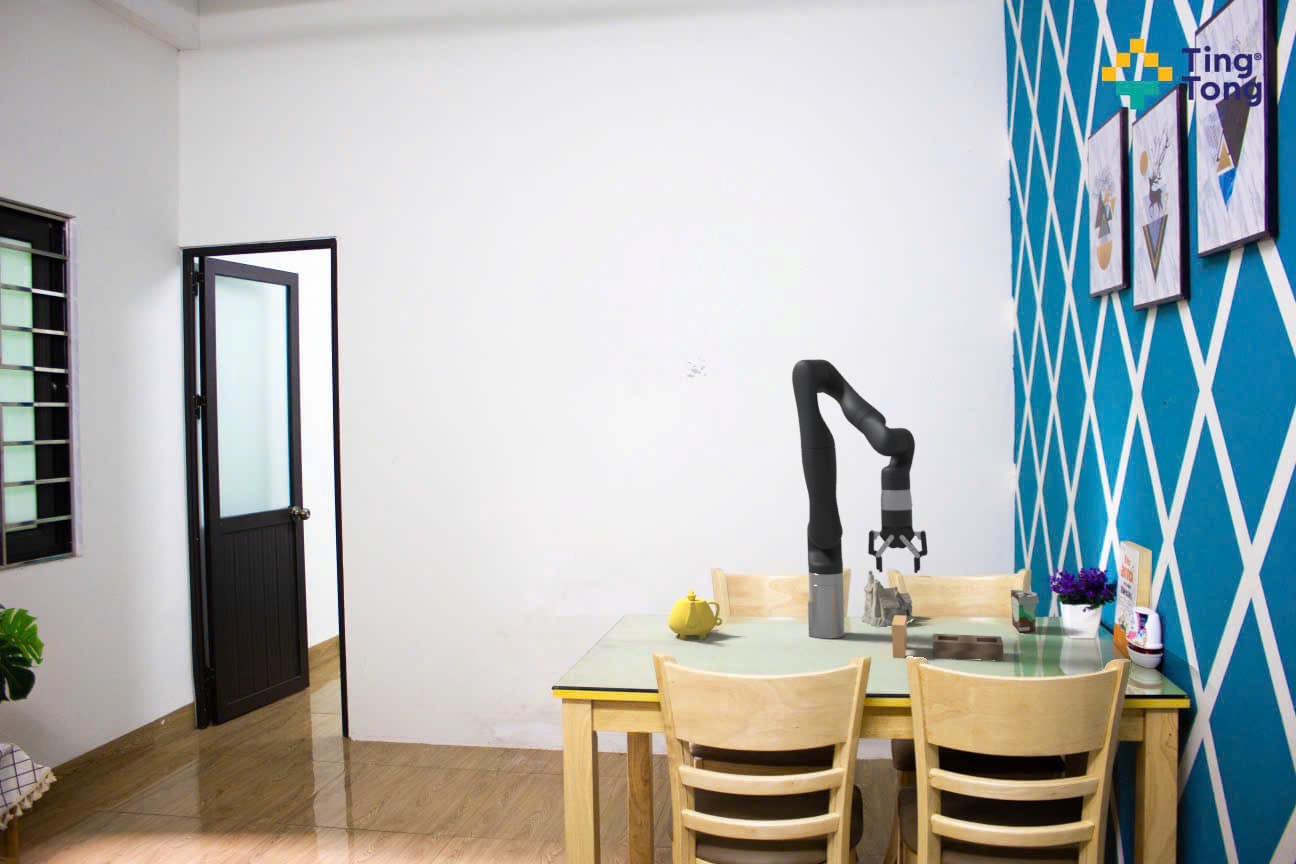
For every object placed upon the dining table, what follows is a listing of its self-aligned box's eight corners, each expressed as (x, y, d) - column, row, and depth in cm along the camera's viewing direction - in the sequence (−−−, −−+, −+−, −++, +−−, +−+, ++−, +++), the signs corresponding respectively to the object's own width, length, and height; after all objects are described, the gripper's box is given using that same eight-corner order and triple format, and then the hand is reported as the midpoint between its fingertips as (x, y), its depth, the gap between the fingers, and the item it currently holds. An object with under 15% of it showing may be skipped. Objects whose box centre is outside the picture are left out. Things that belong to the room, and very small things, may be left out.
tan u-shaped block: (905, 658, 225) (904, 625, 225) (892, 657, 226) (891, 624, 226) (907, 646, 236) (906, 615, 236) (895, 646, 237) (894, 615, 237)
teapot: (724, 643, 245) (723, 600, 245) (668, 644, 245) (667, 601, 245) (720, 627, 265) (719, 587, 265) (668, 628, 265) (668, 588, 265)
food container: (1044, 635, 245) (1043, 597, 245) (1020, 634, 247) (1019, 597, 247) (1034, 625, 258) (1033, 589, 258) (1011, 625, 259) (1010, 589, 259)
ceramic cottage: (870, 627, 259) (872, 574, 259) (855, 618, 275) (857, 568, 276) (925, 629, 259) (927, 576, 260) (907, 620, 276) (909, 569, 276)
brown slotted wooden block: (933, 657, 224) (932, 641, 224) (933, 649, 233) (933, 633, 233) (1003, 661, 219) (1003, 644, 219) (1001, 652, 228) (1001, 636, 228)
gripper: (865, 509, 230) (868, 574, 230) (925, 508, 225) (927, 575, 225) (868, 506, 237) (870, 569, 237) (926, 506, 232) (928, 570, 232)
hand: (898, 572), depth 231 cm, fingers open, 8 cm apart
